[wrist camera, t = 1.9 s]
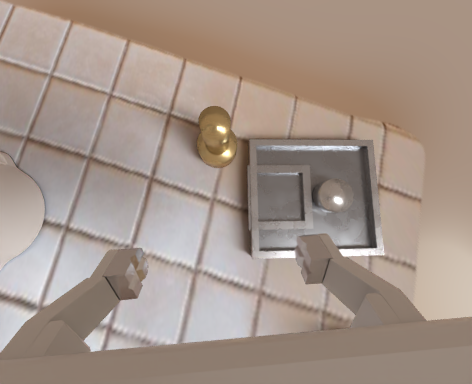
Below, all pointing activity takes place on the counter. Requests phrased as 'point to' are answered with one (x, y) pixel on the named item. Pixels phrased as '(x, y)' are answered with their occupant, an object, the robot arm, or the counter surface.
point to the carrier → (312, 196)
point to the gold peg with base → (216, 137)
